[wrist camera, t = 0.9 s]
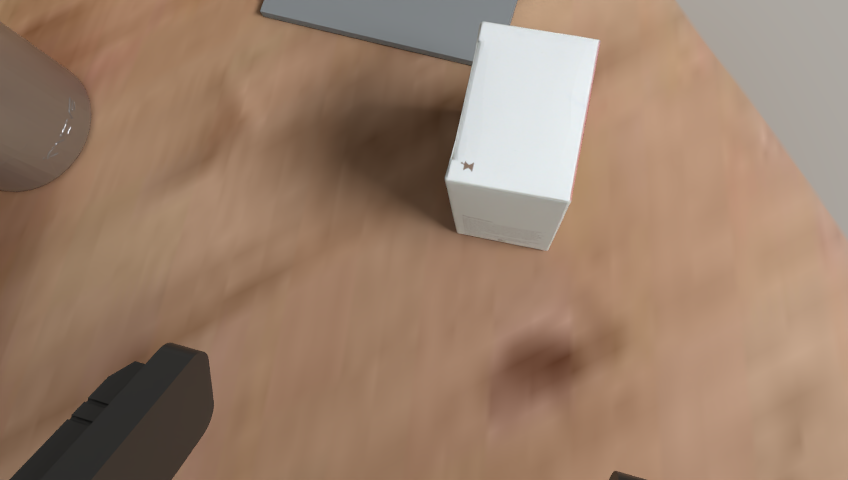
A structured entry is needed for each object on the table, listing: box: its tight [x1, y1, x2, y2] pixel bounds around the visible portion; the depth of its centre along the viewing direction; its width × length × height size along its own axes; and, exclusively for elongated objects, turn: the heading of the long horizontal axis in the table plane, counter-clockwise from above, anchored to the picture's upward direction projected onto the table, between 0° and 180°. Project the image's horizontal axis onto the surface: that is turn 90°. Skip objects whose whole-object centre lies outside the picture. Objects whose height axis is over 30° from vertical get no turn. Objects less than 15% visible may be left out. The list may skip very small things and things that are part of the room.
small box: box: [445, 21, 600, 251], centre depth 32 cm, size 8×6×10 cm
